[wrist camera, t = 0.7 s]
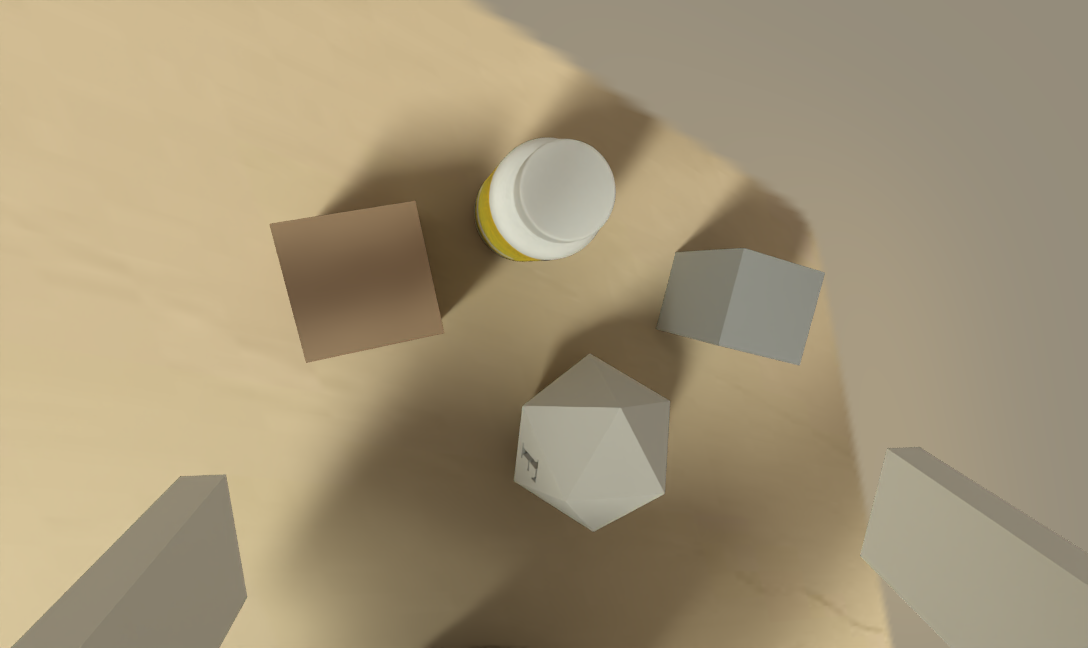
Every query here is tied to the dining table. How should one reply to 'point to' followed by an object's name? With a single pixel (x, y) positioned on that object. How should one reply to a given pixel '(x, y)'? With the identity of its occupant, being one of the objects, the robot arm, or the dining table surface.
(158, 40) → the dining table surface
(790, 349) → the grey block
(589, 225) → the supplement bottle
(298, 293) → the walnut block
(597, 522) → the die
